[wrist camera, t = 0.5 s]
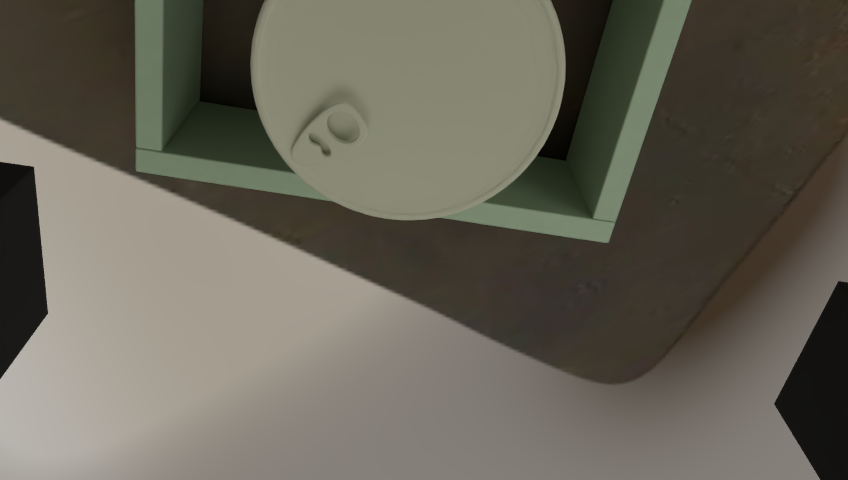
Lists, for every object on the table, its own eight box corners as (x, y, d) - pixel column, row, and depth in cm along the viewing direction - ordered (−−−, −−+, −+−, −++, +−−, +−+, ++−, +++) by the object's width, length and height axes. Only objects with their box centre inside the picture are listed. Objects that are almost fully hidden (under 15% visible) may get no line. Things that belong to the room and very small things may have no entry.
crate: (184, -242, 27) (131, -256, 22) (678, -140, 29) (737, -130, 24) (177, 117, 34) (135, 171, 29) (579, 182, 36) (608, 243, 31)
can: (253, -27, 31) (174, 51, 21) (435, -175, 29) (450, -172, 18) (387, 141, 35) (377, 280, 24) (558, 24, 32) (630, 122, 22)
